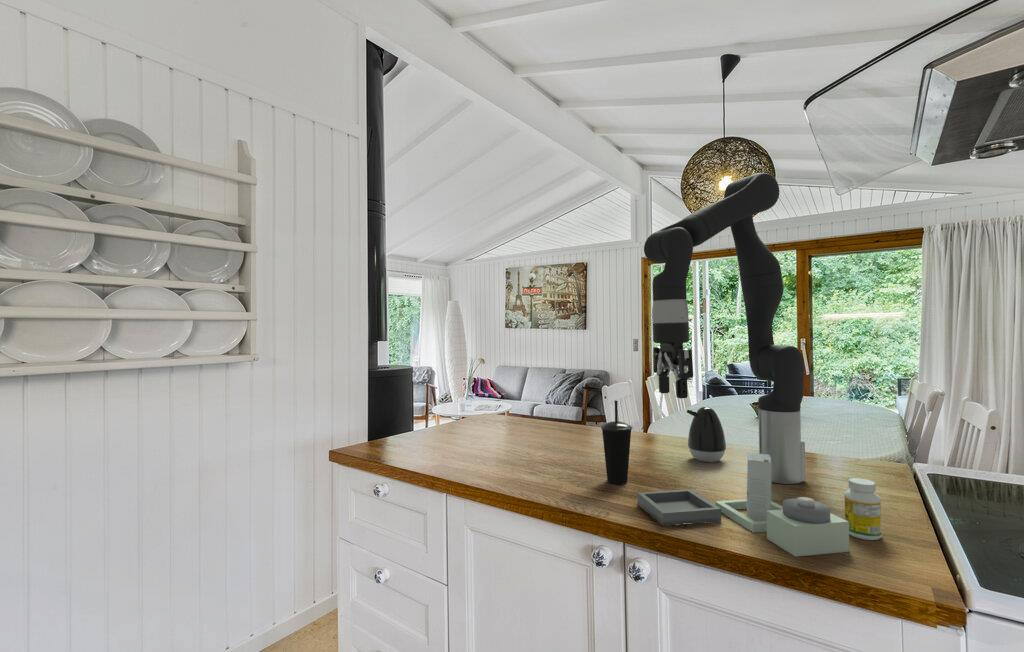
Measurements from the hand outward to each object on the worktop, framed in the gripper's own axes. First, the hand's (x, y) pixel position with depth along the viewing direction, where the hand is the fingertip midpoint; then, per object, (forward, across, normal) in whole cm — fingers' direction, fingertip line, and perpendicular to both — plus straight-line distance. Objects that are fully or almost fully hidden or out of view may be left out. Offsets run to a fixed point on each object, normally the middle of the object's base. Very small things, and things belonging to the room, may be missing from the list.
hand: (672, 395), depth 106 cm
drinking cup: (+23, +16, +8) cm, 29 cm away
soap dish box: (+23, -16, -12) cm, 31 cm away
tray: (+23, -6, +3) cm, 24 cm away
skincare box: (+24, -11, -12) cm, 29 cm away
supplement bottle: (+24, -21, -25) cm, 41 cm away
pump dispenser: (+24, +31, -24) cm, 46 cm away
